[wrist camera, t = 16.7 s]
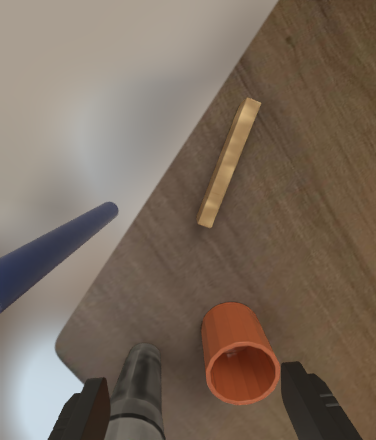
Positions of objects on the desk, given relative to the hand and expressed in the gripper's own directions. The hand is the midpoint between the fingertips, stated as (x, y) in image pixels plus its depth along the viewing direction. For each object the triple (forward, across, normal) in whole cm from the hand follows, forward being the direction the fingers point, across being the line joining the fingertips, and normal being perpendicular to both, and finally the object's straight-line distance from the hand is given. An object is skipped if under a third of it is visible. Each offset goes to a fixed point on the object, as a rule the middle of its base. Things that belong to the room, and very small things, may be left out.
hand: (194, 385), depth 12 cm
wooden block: (+20, -2, -3) cm, 20 cm away
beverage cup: (+22, +7, +16) cm, 28 cm away
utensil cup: (+22, -5, +13) cm, 26 cm away
